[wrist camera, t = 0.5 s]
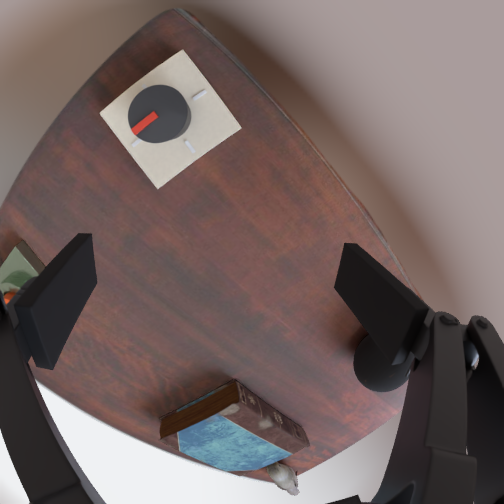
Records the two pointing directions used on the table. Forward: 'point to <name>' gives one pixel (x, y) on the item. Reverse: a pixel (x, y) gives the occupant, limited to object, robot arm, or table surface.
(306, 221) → the table surface
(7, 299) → the button
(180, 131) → the knob
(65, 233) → the table surface
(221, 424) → the book
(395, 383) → the speaker
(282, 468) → the decorative bird
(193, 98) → the knob panel
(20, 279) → the button box
